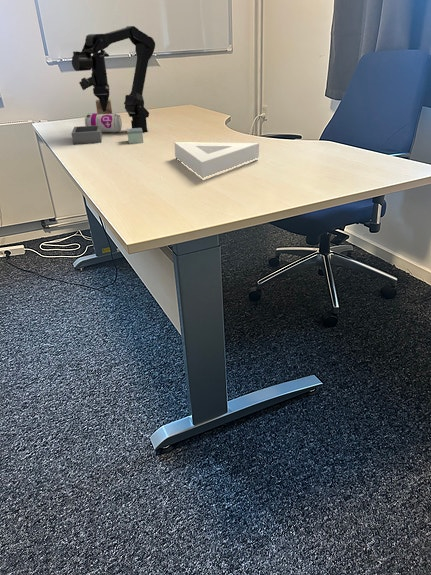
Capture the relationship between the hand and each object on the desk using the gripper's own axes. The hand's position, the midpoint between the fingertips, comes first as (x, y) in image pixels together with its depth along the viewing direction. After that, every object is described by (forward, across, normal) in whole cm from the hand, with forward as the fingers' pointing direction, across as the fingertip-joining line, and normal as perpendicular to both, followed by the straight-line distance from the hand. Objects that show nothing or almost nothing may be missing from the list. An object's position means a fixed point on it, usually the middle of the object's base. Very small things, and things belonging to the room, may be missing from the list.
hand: (104, 110), depth 184 cm
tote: (+11, +2, -8) cm, 14 cm away
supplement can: (+7, -16, -9) cm, 20 cm away
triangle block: (+12, +58, +39) cm, 71 cm away
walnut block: (+1, 0, 0) cm, 1 cm away
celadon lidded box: (+11, +12, +12) cm, 20 cm away
